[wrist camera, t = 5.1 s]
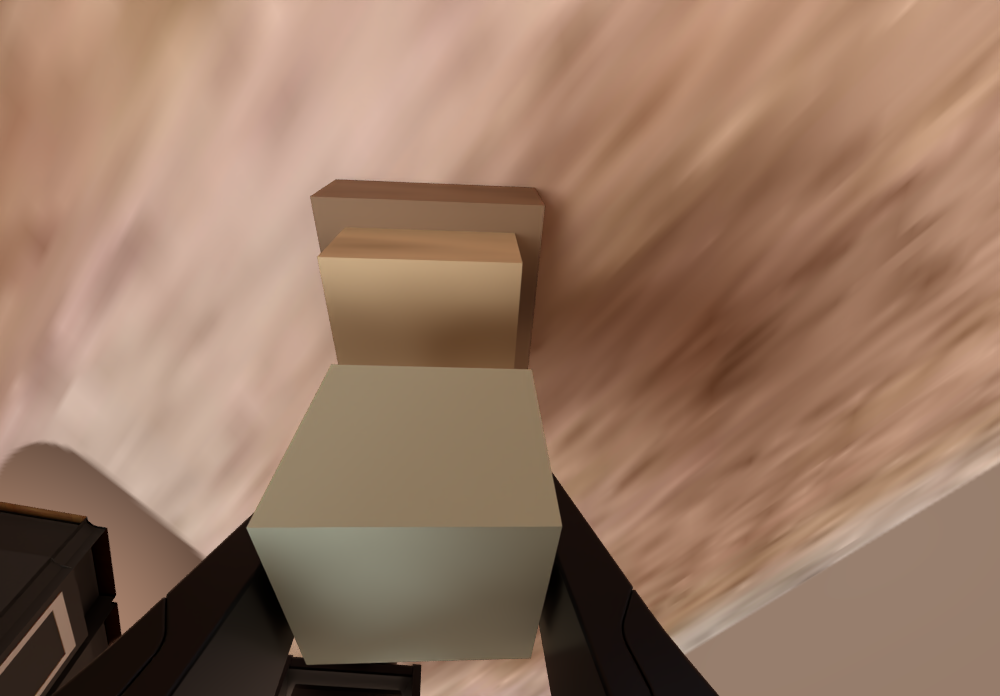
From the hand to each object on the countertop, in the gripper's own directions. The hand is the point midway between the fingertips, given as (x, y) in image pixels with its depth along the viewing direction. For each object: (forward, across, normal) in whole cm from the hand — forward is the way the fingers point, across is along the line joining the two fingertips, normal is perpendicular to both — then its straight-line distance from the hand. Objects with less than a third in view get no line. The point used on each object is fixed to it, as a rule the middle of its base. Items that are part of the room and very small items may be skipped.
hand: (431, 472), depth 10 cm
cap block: (+1, 0, 0) cm, 1 cm away
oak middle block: (+8, +1, 0) cm, 8 cm away
